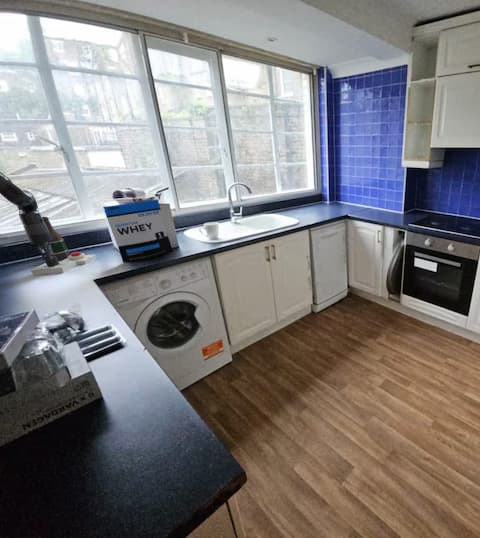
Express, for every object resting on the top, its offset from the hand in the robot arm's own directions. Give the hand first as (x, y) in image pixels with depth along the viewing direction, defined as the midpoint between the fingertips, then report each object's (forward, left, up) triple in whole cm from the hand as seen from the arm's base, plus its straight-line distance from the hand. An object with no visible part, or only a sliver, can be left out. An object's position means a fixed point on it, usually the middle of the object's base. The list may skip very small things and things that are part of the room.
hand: (52, 264), depth 148 cm
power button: (+4, +11, 0) cm, 12 cm away
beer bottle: (-9, +19, -3) cm, 21 cm away
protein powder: (+39, +10, -3) cm, 41 cm away
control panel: (0, 0, -3) cm, 3 cm away
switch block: (+4, +11, -3) cm, 12 cm away
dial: (0, 0, 0) cm, 0 cm away
